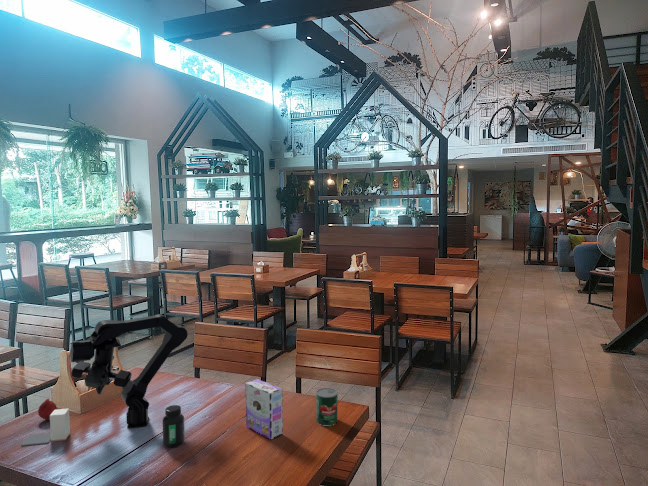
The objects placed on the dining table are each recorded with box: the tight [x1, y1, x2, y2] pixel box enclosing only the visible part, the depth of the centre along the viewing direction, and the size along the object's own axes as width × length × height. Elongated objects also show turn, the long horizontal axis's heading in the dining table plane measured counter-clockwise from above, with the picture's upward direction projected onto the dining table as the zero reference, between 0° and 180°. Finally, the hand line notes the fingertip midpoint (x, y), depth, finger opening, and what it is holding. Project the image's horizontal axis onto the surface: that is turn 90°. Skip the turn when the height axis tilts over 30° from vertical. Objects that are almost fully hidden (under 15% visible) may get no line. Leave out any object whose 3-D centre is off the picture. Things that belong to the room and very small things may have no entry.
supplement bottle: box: [162, 404, 186, 449], centre depth 151 cm, size 7×7×12 cm
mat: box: [21, 432, 52, 447], centre depth 153 cm, size 8×7×1 cm
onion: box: [37, 397, 58, 421], centre depth 167 cm, size 6×6×8 cm
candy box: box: [245, 378, 284, 440], centre depth 159 cm, size 14×6×16 cm, turn 47°
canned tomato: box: [315, 387, 339, 426], centre depth 166 cm, size 8×8×11 cm
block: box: [49, 407, 71, 442], centre depth 154 cm, size 4×4×9 cm
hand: (99, 393), depth 162 cm, fingers closed
